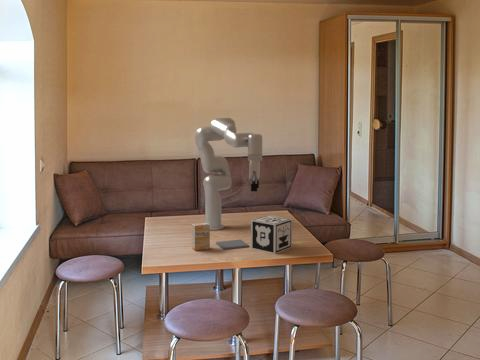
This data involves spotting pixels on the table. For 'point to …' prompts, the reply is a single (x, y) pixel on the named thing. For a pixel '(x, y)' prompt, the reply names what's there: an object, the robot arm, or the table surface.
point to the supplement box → (201, 236)
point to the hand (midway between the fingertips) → (254, 189)
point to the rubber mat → (232, 244)
